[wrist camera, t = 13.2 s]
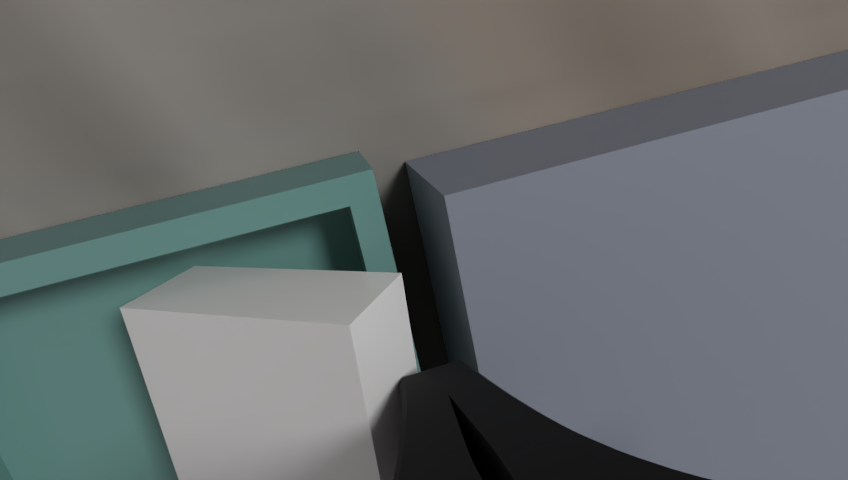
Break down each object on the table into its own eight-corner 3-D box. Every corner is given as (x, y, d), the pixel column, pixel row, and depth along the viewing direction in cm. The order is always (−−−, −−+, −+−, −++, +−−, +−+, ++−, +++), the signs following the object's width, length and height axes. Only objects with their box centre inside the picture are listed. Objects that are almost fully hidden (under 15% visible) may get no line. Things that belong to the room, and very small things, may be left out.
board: (845, 481, 21) (949, 560, 18) (502, 612, 19) (549, 729, 16) (872, 43, 16) (1026, 42, 12) (405, 162, 14) (444, 196, 10)
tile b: (436, 487, 13) (397, 566, 11) (248, 452, 14) (190, 513, 13) (401, 273, 11) (349, 325, 9) (194, 266, 13) (119, 307, 11)
